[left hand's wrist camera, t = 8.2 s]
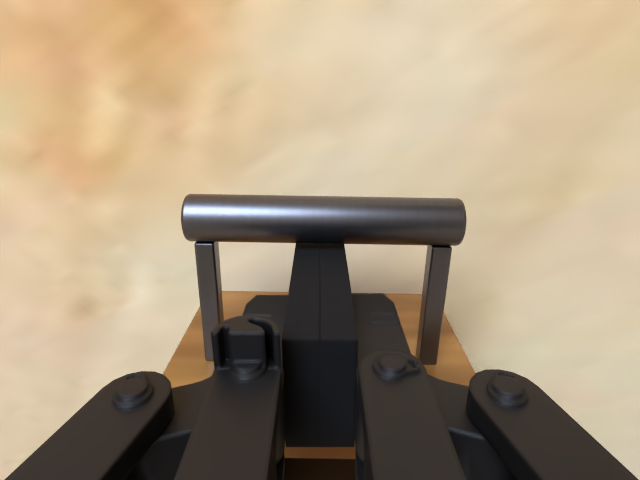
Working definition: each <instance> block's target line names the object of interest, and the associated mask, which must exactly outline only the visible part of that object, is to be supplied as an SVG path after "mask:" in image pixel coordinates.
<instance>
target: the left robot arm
mask: <svg viewBox="0 0 640 480" xmlns="http://www.w3.org/2000/svg"><path fill="white" fill-rule="evenodd" d="M211 341H212V350H213V360H214V371H213V374H212V376H211V377H209V378H207V379H204V380H202V381H199V382H196V383H192V384H188V385H183V386H179V387H174V388H171V382H170V381H169V379H168V378H167V377H166V376H165V375H163V374H160V373H157V372H147V371H141V372H136V373H131V374H127V375H125V376H122V377H120V378H118V379H115V380H113V381H112V382H111V383H109V384H108V385H106V386H105V387H104V388H102V389H101V390H100V391H99V392H98V393H97V394H96V395H95V396H94V397H93V398H92V399H90V400H89V401H88V402H87V403H86V404H85V405H84V406H83V407H82V408H81V409H80V410H79V411H78V412H77V413H75V414H74V415H73V416H72V417H71V418H70V419H69V420H68V421H67V422H66V423H65V424H64V425H63V426H62V427H61V428H59V429H58V430H57V431H56V432H55V433H54V434H53V435H52V436H51V437H50V438H49V439H48V440H47V441H46V442H44V443H43V444H42V445H41V446H40V447H39V448H38V449H37V450H36V451H35V452H34V453H33V454H32V455H31V456H30V457H28V458H27V459H26V460H25V461H24V462H23V463H22V464H21V465H20V466H19V467H18V468H17V469H16V470H15V471H14V472H12V473H11V474H10V475H9V476H8V477H7V478H6V479H5V480H284V475H285V454H284V448H285V443H286V447H354V442H355V447H356V454H355V480H638V479H637V478H636V477H635V476H634V475H633V474H632V473H631V472H630V471H629V470H628V469H626V468H625V467H624V466H623V465H622V464H621V463H620V462H619V461H618V460H617V459H616V458H615V457H614V456H612V455H611V454H610V453H609V452H608V451H607V450H606V449H605V448H604V447H603V446H602V445H601V444H600V443H598V442H597V441H596V440H595V439H594V438H593V437H592V436H591V435H590V434H589V433H588V432H587V431H586V430H584V429H583V428H582V427H581V426H580V425H579V424H578V423H577V422H576V421H575V420H574V419H573V418H572V417H570V416H569V415H568V414H567V413H566V412H565V411H564V410H563V409H562V408H561V407H560V406H559V405H558V404H556V403H555V402H554V401H553V400H552V399H551V398H550V397H549V396H548V395H547V394H546V393H545V392H544V391H542V390H541V389H540V388H539V387H538V386H537V385H535V384H534V383H533V382H531V381H530V380H528V379H527V378H525V377H522V376H520V375H518V374H515V373H513V372H508V371H503V370H484V371H481V372H478V373H475V374H474V376H473V377H472V378H471V379H470V381H469V386H465V385H460V384H456V383H451V382H447V381H444V380H440V379H437V378H435V377H433V376H431V375H429V374H428V373H427V371H426V368H425V367H424V365H423V364H422V362H421V361H420V360H419V359H418V358H416V357H415V356H413V355H412V354H411V352H410V349H409V346H408V343H407V340H406V337H405V334H404V331H403V328H402V325H401V324H400V319H399V316H398V314H397V310H396V307H395V304H394V302H393V301H391V300H390V299H389V298H388V297H387V296H386V295H385V294H351V288H350V281H349V274H348V268H347V261H346V254H345V247H344V244H331V243H296V247H295V254H294V261H293V267H292V274H291V281H290V287H289V294H288V295H256V296H255V297H254V298H252V299H251V300H250V301H249V302H248V303H247V304H246V306H245V309H244V312H243V316H237V317H233V318H230V319H227V320H225V321H223V322H221V323H220V324H218V325H216V327H215V328H214V329H213V330H212V332H211Z"/></svg>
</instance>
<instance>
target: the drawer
mask: <svg viewBox="0 0 640 480" xmlns="http://www.w3.org/2000/svg"><path fill="white" fill-rule="evenodd" d="M181 224H182V230H183V234H184V236H185V238H186V239H187V240H189V241H196V243H195V255H196V265H197V276H198V287H199V297H200V307H199V309H198V311H197V313H196V314H195V316H194V318H193V320H192V322H191V324H190V325H189V327H188V329H187V331H186V333H185V334H184V336H183V338H182V340H181V342H180V344H179V345H178V347H177V349H176V351H175V353H174V355H173V356H172V358H171V360H170V362H169V364H168V366H167V367H166V369H165V371H164V373H163V375H165V376H166V377H167V378H168V379H169V381H170V382H171V388H174V387H179V386H183V385H188V384H192V383H196V382H199V381H202V380H204V379H207V378H209V377H211V376H212V374H213V371H214V360H213V350H212V341H211V332H212V330H213V329H214V328H215V327H216V325H218V324H220V323H221V322H223V321H225V320H227V319H230V318H233V317H237V316H243V312H244V309H245V306H246V304H247V303H248V302H249V301H250V300H251V299H252V298H254V297H255V296H256V295H288V294H289V292H248V291H222V287H221V273H220V260H219V246H218V242H272V243H331V244H390V245H428V247H427V256H426V265H425V274H424V283H423V292H422V294H385V295H386V296H387V297H388V298H389V299H390V300H391V301H393V302H394V304H395V307H396V310H397V314H398V316H399V319H400V324H401V325H402V328H403V331H404V334H405V337H406V340H407V343H408V346H409V349H410V352H411V354H412V355H413V356H415V357H416V358H418V359H419V360H420V361H421V362H422V364H423V365H424V367H425V368H426V371H427V373H428V374H429V375H431V376H433V377H435V378H437V379H440V380H444V381H447V382H451V383H456V384H460V385H465V386H469V381H470V379H471V378H472V377H473V376H474V374H475V372H474V370H473V368H472V366H471V364H470V362H469V360H468V358H467V356H466V354H465V353H464V351H463V349H462V347H461V345H460V343H459V341H458V339H457V337H456V335H455V333H454V332H453V330H452V328H451V326H450V324H449V322H448V320H447V318H446V316H445V314H444V312H443V311H444V303H445V296H446V288H447V281H448V273H449V266H450V258H451V251H452V248H451V246H456V245H459V244H460V243H461V242H462V240H463V238H464V235H465V230H466V211H465V206H464V204H463V202H462V201H461V200H460V199H454V198H395V197H336V196H277V195H217V194H189V195H187V196H186V197H185V199H184V201H183V205H182V211H181ZM351 294H366V293H351ZM284 454H285V475H284V480H355V454H356V447H355V442H354V447H286V443H285V448H284Z"/></svg>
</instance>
